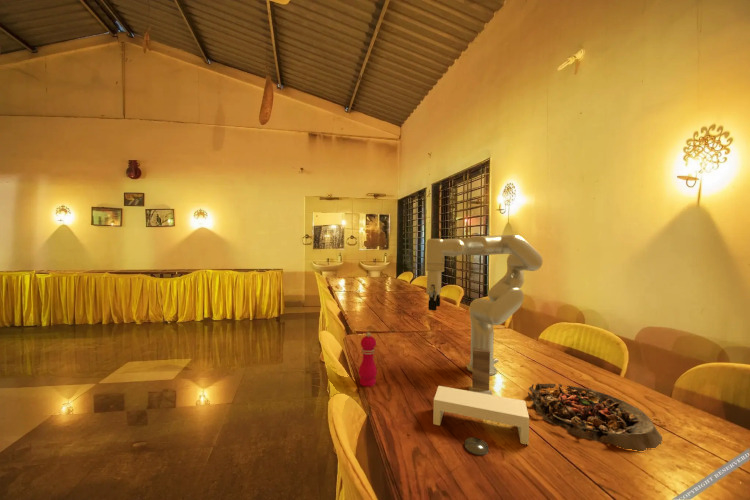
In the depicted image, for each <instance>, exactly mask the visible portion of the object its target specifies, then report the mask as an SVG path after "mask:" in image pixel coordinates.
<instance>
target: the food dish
mask: <svg viewBox="0 0 750 500" xmlns="http://www.w3.org/2000/svg"><path fill="white" fill-rule="evenodd" d="M555 387H556V383H537V384H535V388H534V383H533V384H532V385H531V386H530V387H528V392H527V394H528V396H529V398H530V399H531V401H532V404H531V406H533V407H534V409H535V411H536V413H537V414H538V415H540V416H542V418H543V420H545V422H548V423H549V424H551V425H554V426H558V427H561V428H563V429H564V430H566V432H568V433H569V434H571V435H574V436H575V437H577V438H580V439H584V440H589V441H590V440H591V441H594V442H598V443H604V442H605V444H608V443H610V444H609V445H611V444H613V445H615V446H618V447H621V448H624V449H632V450H637V451H644V450H646V448H656V447H657V446H658V445H659V444H660V445H662V444H661V443H662V442H663V436H662V434H661V433H660V432H659V431H658V429H657V428H656V426H655V425H654V423H653V421H652V419H651V418H650V417H649V416H648V415H647V413H645V412H644V411H642V410H641V409H640V408H638V407H636V406H634V405H632V404H630V403H628V402H627V401H624V400H622V399H619V398H617V397H614V396H612V395H610V394H606V393H603V392H601V391H597V390H594V389H592V388H591V389H589V388H584V387H580V386H572V385H566V387H567V388H566V389H562V387H563V384H561V383H559V384H558V389H555V390H550V391H549V390H548V389H549V388H550V389H554V388H555ZM530 392H531V393H530ZM661 441H662V442H661ZM613 445H612V446H613ZM660 445H659V446H660ZM615 446H614V447H615ZM659 446H658V447H659ZM658 447H657V448H658ZM657 448H656V449H657Z"/></svg>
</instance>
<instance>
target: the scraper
mask: <svg viewBox="0 0 750 500" xmlns="http://www.w3.org/2000/svg"><path fill="white" fill-rule="evenodd" d="M489 373H490V350H486V349H478V348H473V373H472V386H469V389H468V391H472V392H477V393H483V394H489V395H493V390H490V375H489Z"/></svg>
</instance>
